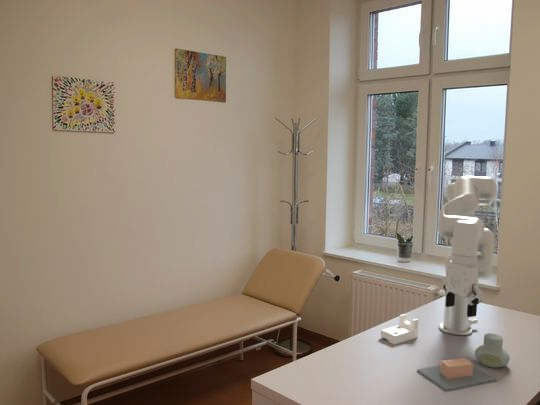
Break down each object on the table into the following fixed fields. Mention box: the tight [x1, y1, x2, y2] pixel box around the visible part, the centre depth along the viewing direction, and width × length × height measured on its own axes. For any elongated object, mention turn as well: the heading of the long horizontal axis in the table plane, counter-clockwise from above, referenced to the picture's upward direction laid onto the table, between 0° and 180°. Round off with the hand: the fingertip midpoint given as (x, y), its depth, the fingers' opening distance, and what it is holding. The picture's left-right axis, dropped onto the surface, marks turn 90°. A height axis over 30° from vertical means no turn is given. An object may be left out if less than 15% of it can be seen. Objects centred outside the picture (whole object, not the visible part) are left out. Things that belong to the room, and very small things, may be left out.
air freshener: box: [474, 333, 511, 369], centre depth 171 cm, size 11×8×10 cm
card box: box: [439, 357, 474, 379], centre depth 163 cm, size 4×9×4 cm, turn 104°
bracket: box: [380, 313, 420, 345], centre depth 193 cm, size 13×7×8 cm, turn 124°
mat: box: [416, 364, 497, 392], centre depth 163 cm, size 20×14×1 cm
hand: (460, 311), depth 160 cm, fingers open, 9 cm apart
